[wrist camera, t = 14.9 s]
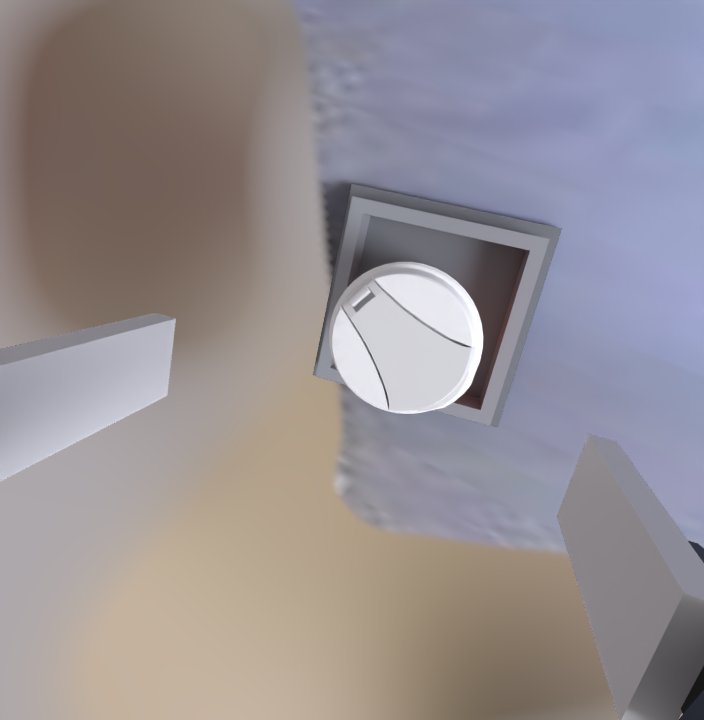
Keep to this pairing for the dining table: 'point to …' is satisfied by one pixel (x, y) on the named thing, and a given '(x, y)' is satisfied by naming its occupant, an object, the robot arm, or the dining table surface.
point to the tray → (461, 262)
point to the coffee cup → (406, 338)
